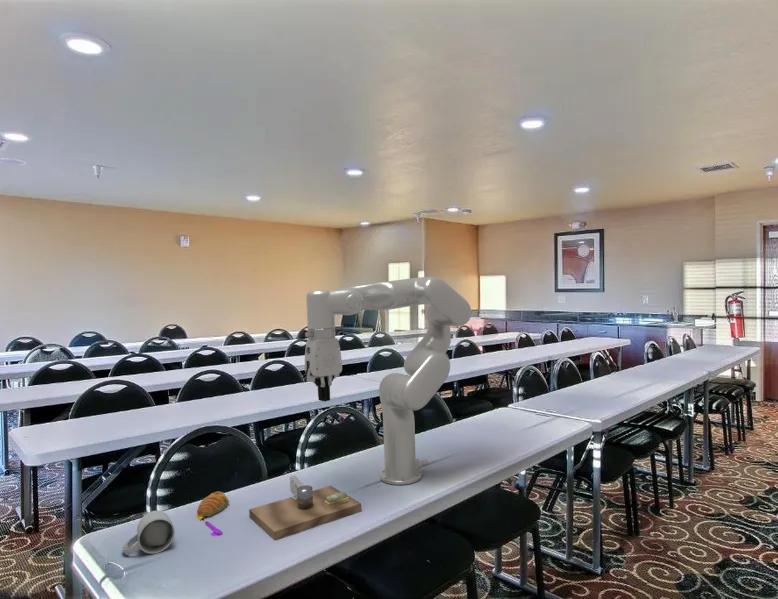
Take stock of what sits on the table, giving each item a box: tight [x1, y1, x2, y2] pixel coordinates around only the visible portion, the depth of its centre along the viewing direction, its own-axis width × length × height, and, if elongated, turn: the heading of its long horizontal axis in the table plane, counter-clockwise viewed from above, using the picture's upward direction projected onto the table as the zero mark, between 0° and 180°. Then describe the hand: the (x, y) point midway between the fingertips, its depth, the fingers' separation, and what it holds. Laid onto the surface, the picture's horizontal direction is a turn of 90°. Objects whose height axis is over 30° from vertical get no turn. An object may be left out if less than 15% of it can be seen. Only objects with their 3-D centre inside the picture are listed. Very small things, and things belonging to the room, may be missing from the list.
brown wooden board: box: [248, 485, 362, 541], centre depth 133 cm, size 24×16×5 cm, turn 126°
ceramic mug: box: [121, 510, 176, 556], centre depth 119 cm, size 11×8×8 cm
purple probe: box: [195, 513, 223, 538], centre depth 129 cm, size 3×1×16 cm
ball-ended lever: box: [289, 475, 314, 509], centre depth 138 cm, size 14×4×4 cm, turn 26°
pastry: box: [196, 491, 230, 517], centre depth 138 cm, size 9×7×4 cm
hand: (324, 400), depth 144 cm, fingers closed
